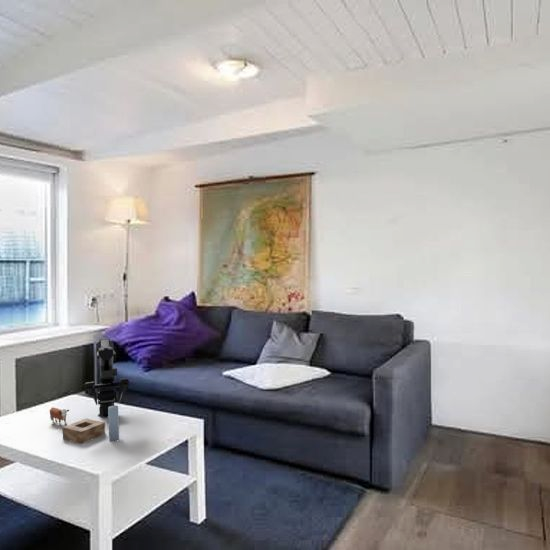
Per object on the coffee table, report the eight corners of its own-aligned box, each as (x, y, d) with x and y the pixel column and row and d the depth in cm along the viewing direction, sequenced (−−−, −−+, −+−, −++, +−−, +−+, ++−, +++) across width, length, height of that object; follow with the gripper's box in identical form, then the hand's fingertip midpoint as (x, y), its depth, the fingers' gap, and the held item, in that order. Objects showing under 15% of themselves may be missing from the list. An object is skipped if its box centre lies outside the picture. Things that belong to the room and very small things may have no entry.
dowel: (114, 437, 197) (113, 405, 196) (121, 438, 195) (120, 406, 194) (107, 440, 193) (106, 407, 193) (113, 442, 191) (112, 409, 191)
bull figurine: (62, 428, 208) (62, 411, 208) (48, 422, 216) (47, 405, 216) (71, 425, 212) (71, 408, 211) (57, 420, 220) (56, 403, 219)
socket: (86, 429, 207) (86, 418, 206) (105, 433, 201) (104, 422, 201) (62, 438, 196) (62, 427, 196) (81, 443, 190) (81, 431, 190)
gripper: (84, 364, 202) (84, 396, 192) (128, 360, 208) (130, 391, 199) (85, 378, 209) (85, 409, 199) (127, 373, 216) (130, 403, 206)
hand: (108, 403), depth 201 cm, fingers open, 9 cm apart
